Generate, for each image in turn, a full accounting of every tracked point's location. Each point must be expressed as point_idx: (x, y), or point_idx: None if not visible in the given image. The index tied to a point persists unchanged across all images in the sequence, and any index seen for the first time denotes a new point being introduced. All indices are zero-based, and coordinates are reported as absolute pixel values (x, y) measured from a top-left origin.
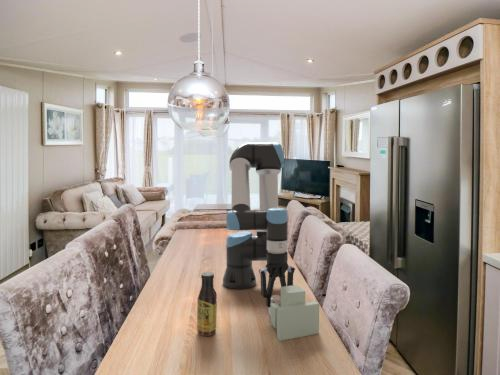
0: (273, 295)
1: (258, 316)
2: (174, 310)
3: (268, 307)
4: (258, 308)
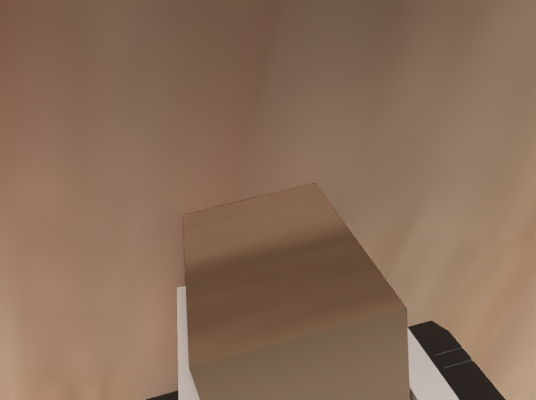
0: (311, 343)
1: (49, 324)
2: None
3: (178, 342)
4: (53, 104)
